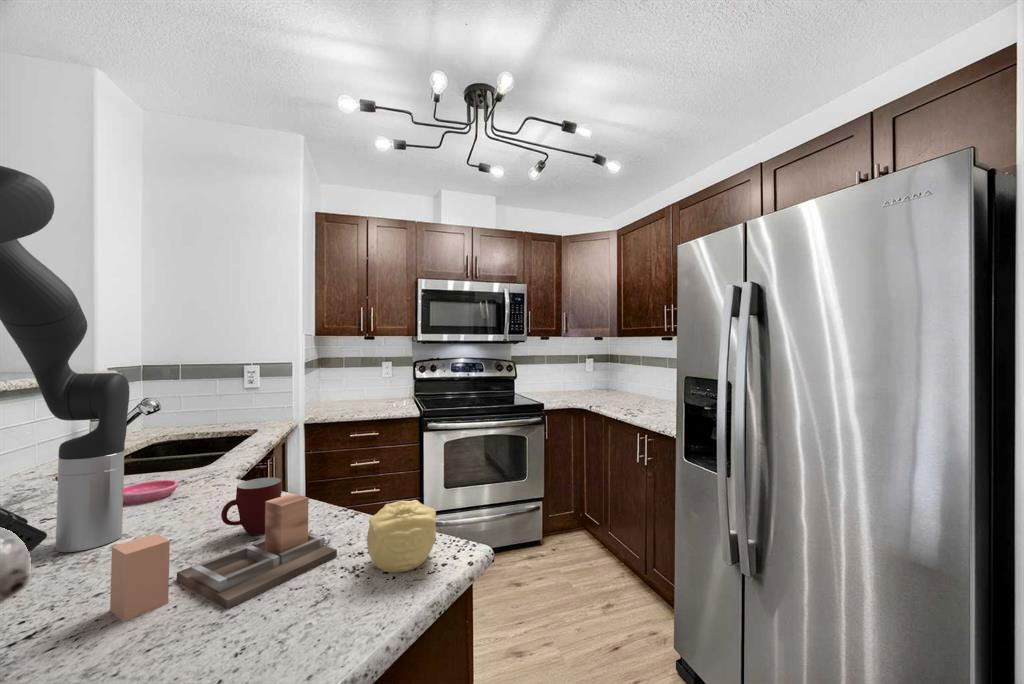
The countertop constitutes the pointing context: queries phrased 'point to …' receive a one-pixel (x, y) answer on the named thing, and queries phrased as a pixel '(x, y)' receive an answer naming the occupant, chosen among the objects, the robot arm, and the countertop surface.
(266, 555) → the wooden block stand
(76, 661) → the countertop surface
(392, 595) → the countertop surface
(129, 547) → the pillar
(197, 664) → the countertop surface
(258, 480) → the mug
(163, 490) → the saucer
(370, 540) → the sculpture
